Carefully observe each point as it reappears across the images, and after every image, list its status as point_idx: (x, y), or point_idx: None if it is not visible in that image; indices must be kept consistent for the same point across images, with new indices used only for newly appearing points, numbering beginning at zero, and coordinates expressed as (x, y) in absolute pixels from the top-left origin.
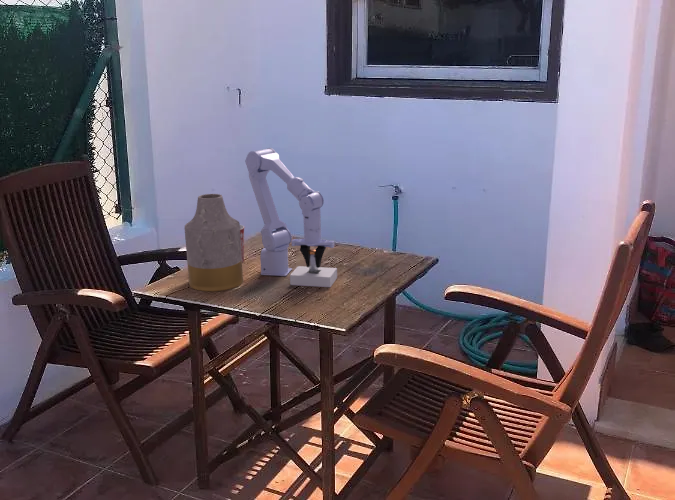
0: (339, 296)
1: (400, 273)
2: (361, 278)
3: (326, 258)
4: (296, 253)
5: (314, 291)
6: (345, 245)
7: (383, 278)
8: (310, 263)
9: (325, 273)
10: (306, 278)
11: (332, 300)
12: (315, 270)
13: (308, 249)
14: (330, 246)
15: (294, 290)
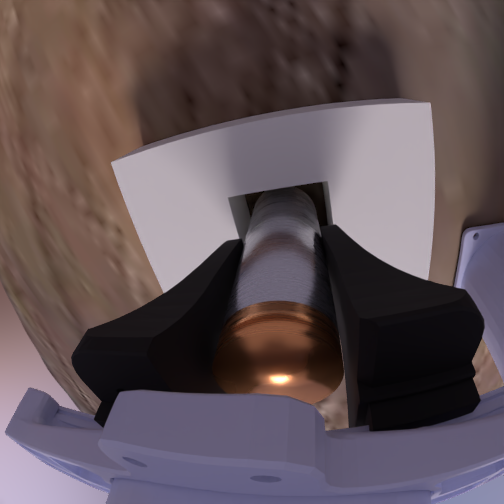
0: (50, 60)
1: (63, 357)
2: (106, 305)
3: (338, 423)
4: None
5: (192, 40)
6: None
7: (59, 317)
8: (294, 233)
9: (182, 222)
10: (292, 112)
11: (57, 4)
12: (254, 217)
13: (351, 387)
14: (37, 403)
15: (325, 10)
